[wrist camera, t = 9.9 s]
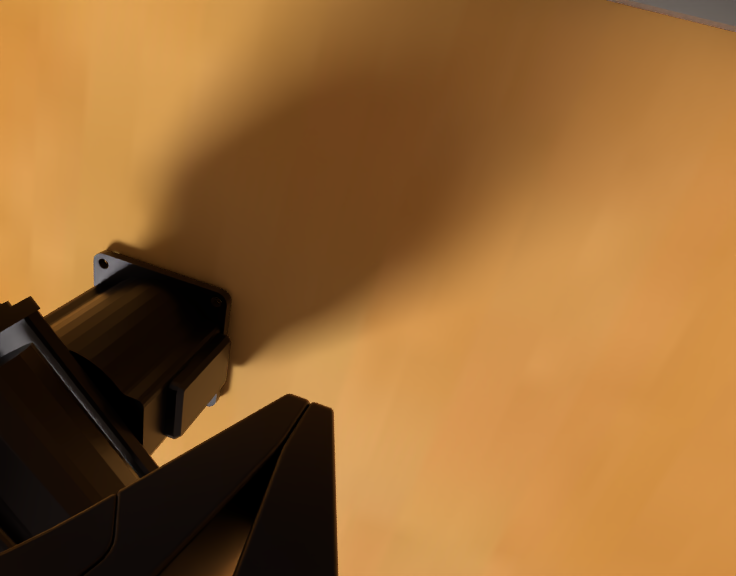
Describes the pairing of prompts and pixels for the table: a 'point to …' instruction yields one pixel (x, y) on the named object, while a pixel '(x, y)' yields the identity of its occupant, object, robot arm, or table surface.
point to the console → (692, 10)
